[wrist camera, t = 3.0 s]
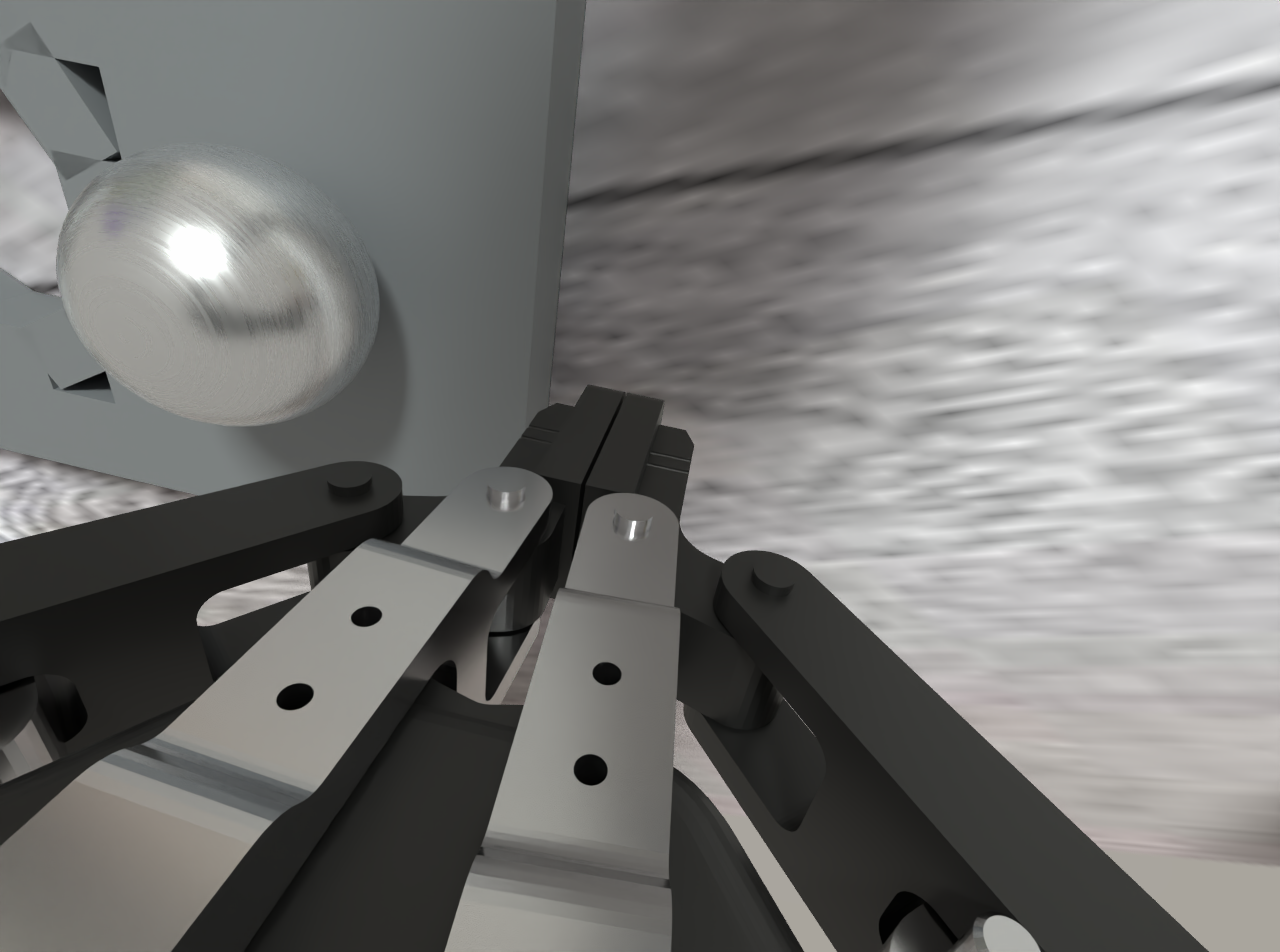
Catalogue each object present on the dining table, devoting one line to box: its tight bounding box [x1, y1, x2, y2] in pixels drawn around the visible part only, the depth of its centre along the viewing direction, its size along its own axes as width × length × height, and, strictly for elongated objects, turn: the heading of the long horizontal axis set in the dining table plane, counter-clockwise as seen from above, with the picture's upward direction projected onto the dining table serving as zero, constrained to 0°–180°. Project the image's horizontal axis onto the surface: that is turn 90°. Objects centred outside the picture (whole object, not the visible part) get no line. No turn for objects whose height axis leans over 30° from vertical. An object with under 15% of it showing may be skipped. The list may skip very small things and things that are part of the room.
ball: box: [56, 143, 380, 426], centre depth 15 cm, size 6×6×6 cm
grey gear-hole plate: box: [0, 0, 586, 496], centre depth 18 cm, size 18×24×2 cm
